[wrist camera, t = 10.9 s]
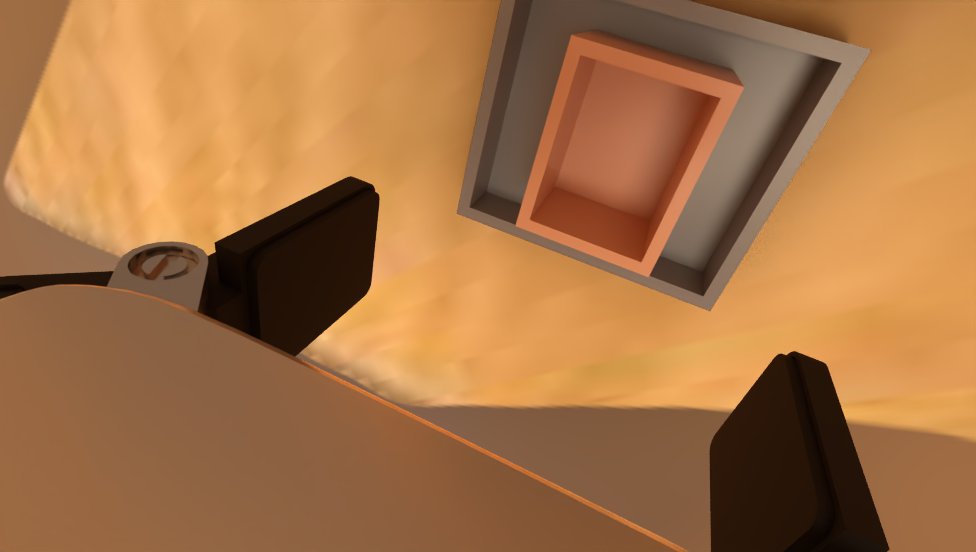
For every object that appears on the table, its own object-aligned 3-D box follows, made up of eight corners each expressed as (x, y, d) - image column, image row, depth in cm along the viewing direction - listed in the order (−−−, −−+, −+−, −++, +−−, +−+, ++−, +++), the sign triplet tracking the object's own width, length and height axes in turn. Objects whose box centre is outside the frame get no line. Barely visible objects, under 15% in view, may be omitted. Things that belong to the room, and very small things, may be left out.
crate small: (595, 29, 24) (571, 35, 20) (733, 70, 23) (744, 87, 18) (545, 189, 29) (515, 226, 24) (656, 229, 28) (648, 277, 23)
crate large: (532, -42, 24) (510, -48, 22) (848, 43, 22) (871, 49, 19) (477, 194, 32) (456, 213, 29) (708, 281, 29) (710, 311, 26)
